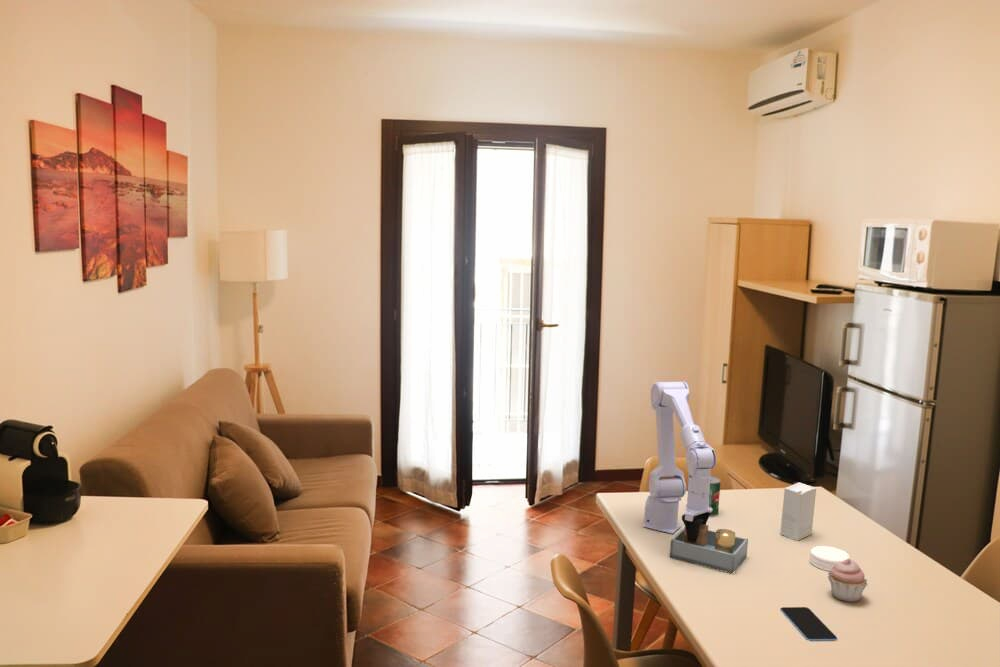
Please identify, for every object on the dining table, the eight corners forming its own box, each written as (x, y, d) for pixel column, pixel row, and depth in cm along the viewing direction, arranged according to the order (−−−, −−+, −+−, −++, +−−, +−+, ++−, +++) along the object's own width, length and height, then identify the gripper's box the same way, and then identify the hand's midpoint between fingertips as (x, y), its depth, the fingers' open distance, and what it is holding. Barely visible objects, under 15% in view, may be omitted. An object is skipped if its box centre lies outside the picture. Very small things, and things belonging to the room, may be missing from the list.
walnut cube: (683, 544, 220) (684, 526, 219) (689, 538, 224) (690, 521, 223) (701, 548, 217) (702, 531, 216) (707, 542, 221) (708, 525, 221)
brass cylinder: (711, 558, 216) (714, 533, 215) (716, 551, 220) (718, 527, 219) (730, 562, 213) (732, 537, 212) (735, 556, 218) (737, 531, 216)
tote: (669, 557, 218) (671, 539, 217) (686, 541, 229) (687, 524, 228) (732, 573, 209) (734, 555, 208) (746, 556, 220) (747, 539, 219)
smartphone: (807, 606, 191) (839, 638, 177) (807, 609, 192) (839, 642, 177) (778, 606, 191) (807, 639, 176) (777, 609, 191) (807, 642, 176)
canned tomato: (689, 507, 256) (691, 474, 255) (712, 507, 257) (715, 474, 256) (697, 517, 248) (700, 483, 247) (722, 516, 249) (724, 482, 248)
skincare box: (794, 528, 241) (798, 481, 239) (813, 535, 237) (817, 487, 235) (779, 535, 236) (783, 486, 234) (797, 541, 232) (802, 492, 229)
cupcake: (817, 591, 201) (820, 553, 199) (845, 585, 204) (849, 548, 203) (845, 608, 192) (849, 568, 191) (874, 602, 195) (879, 563, 194)
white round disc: (854, 565, 217) (856, 553, 216) (840, 576, 210) (841, 564, 209) (818, 554, 224) (819, 542, 223) (803, 564, 217) (804, 552, 216)
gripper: (704, 501, 210) (701, 550, 212) (721, 486, 222) (717, 533, 224) (678, 495, 214) (675, 544, 216) (696, 481, 226) (693, 527, 228)
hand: (695, 538), depth 220 cm, fingers closed on walnut cube, 5 cm apart
